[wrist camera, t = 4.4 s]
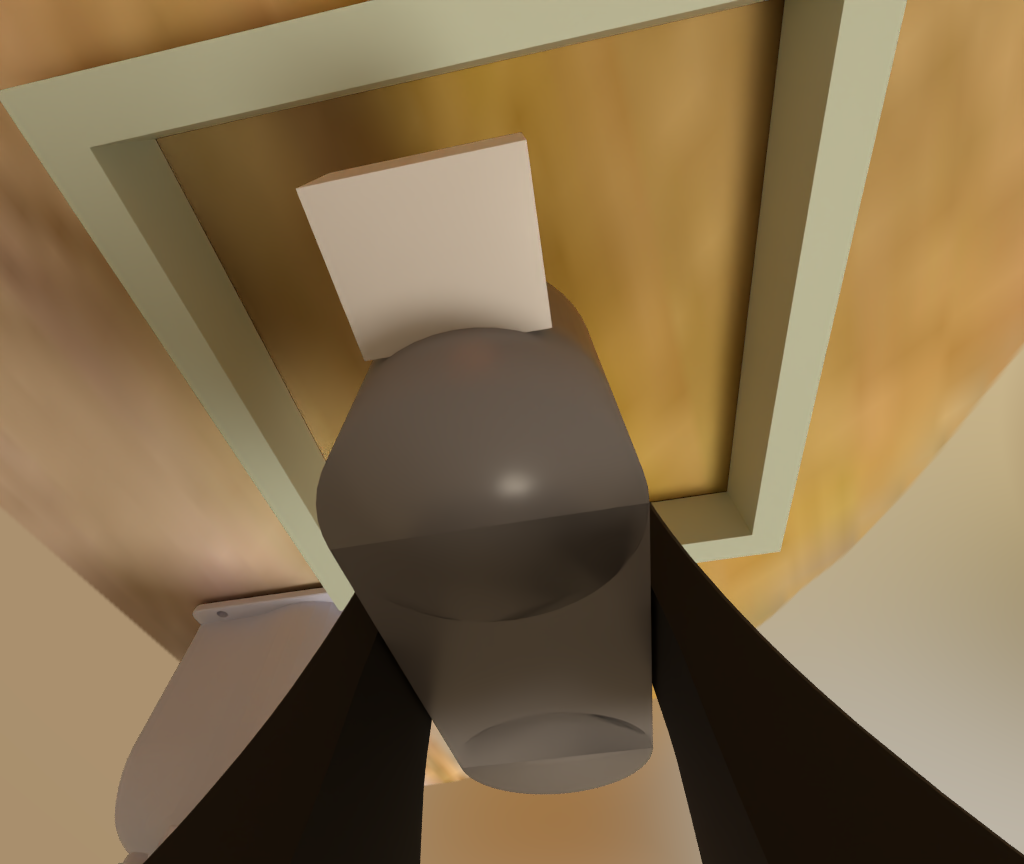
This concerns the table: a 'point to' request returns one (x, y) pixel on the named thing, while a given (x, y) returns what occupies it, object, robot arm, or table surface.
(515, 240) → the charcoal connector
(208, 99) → the sage frame
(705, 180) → the table surface
